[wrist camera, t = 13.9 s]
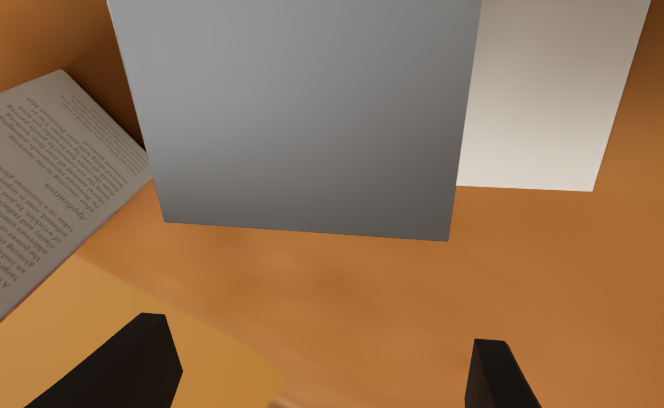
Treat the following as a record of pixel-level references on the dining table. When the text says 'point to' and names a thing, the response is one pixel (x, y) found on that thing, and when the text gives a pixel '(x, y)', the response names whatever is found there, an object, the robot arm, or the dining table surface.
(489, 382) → the robot arm
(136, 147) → the small box
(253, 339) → the dining table surface
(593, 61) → the board
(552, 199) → the dining table surface
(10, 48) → the dining table surface
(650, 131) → the dining table surface
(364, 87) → the slate block
